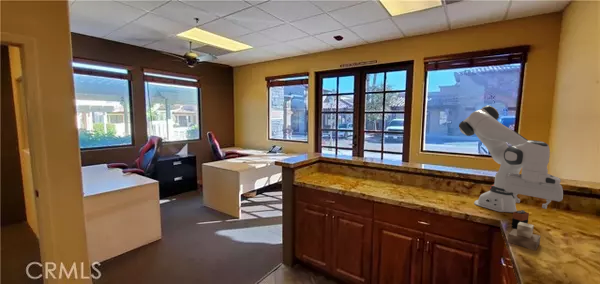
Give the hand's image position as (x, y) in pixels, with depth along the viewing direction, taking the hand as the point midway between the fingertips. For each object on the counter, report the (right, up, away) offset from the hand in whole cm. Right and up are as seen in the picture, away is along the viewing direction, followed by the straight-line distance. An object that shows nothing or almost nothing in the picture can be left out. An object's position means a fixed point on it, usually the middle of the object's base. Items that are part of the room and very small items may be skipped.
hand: (530, 205), depth 121 cm
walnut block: (-1, -19, +2) cm, 19 cm away
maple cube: (-1, -15, +2) cm, 15 cm away
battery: (+10, -17, +18) cm, 27 cm away
